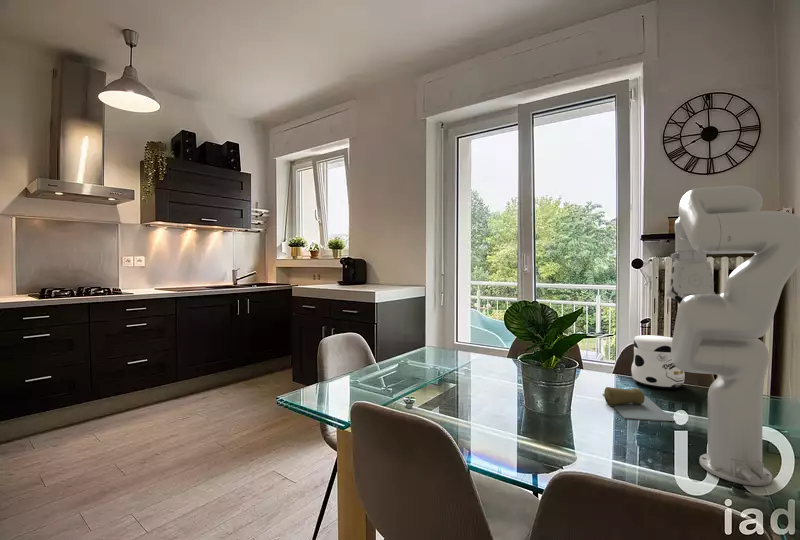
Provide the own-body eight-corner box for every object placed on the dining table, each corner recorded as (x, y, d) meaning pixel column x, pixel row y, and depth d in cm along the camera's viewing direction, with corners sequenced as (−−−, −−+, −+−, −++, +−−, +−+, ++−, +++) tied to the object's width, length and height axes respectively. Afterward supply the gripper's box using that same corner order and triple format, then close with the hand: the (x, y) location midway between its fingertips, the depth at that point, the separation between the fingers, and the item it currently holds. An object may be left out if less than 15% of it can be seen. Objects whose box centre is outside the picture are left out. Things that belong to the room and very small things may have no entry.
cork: (613, 407, 128) (648, 407, 127) (612, 388, 128) (646, 388, 128) (605, 403, 134) (637, 403, 133) (603, 385, 134) (636, 385, 134)
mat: (675, 422, 117) (675, 420, 117) (624, 418, 120) (624, 417, 120) (645, 397, 138) (645, 396, 138) (602, 394, 141) (602, 393, 141)
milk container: (687, 395, 140) (687, 345, 139) (631, 387, 149) (630, 340, 149) (682, 382, 155) (682, 336, 154) (631, 376, 164) (631, 333, 163)
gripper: (666, 257, 116) (666, 318, 117) (728, 256, 113) (728, 319, 113) (655, 257, 124) (655, 315, 124) (713, 256, 120) (713, 316, 121)
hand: (690, 316), depth 119 cm, fingers open, 2 cm apart
